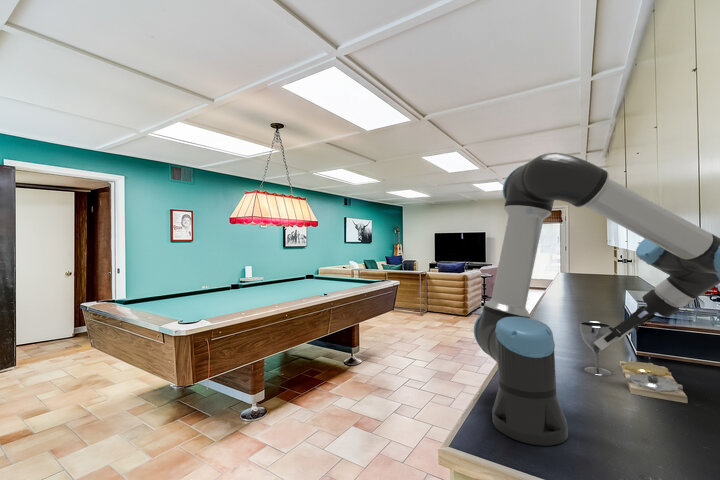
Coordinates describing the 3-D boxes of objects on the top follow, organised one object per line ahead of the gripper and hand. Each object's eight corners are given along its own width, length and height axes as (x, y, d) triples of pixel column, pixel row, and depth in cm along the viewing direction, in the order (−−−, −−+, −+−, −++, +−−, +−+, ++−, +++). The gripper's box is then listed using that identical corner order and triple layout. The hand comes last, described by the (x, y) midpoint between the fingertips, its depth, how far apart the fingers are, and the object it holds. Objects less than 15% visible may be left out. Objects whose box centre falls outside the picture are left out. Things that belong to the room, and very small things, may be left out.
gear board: (689, 403, 81) (688, 389, 81) (629, 393, 87) (628, 380, 87) (666, 371, 101) (665, 360, 101) (619, 365, 107) (618, 355, 107)
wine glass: (602, 366, 107) (600, 321, 107) (619, 376, 99) (616, 326, 99) (577, 366, 108) (574, 321, 108) (592, 376, 100) (589, 327, 100)
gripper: (669, 315, 81) (602, 361, 92) (689, 303, 96) (629, 344, 107) (640, 292, 85) (579, 339, 97) (664, 284, 100) (609, 325, 112)
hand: (605, 341), depth 102 cm, fingers open, 13 cm apart
